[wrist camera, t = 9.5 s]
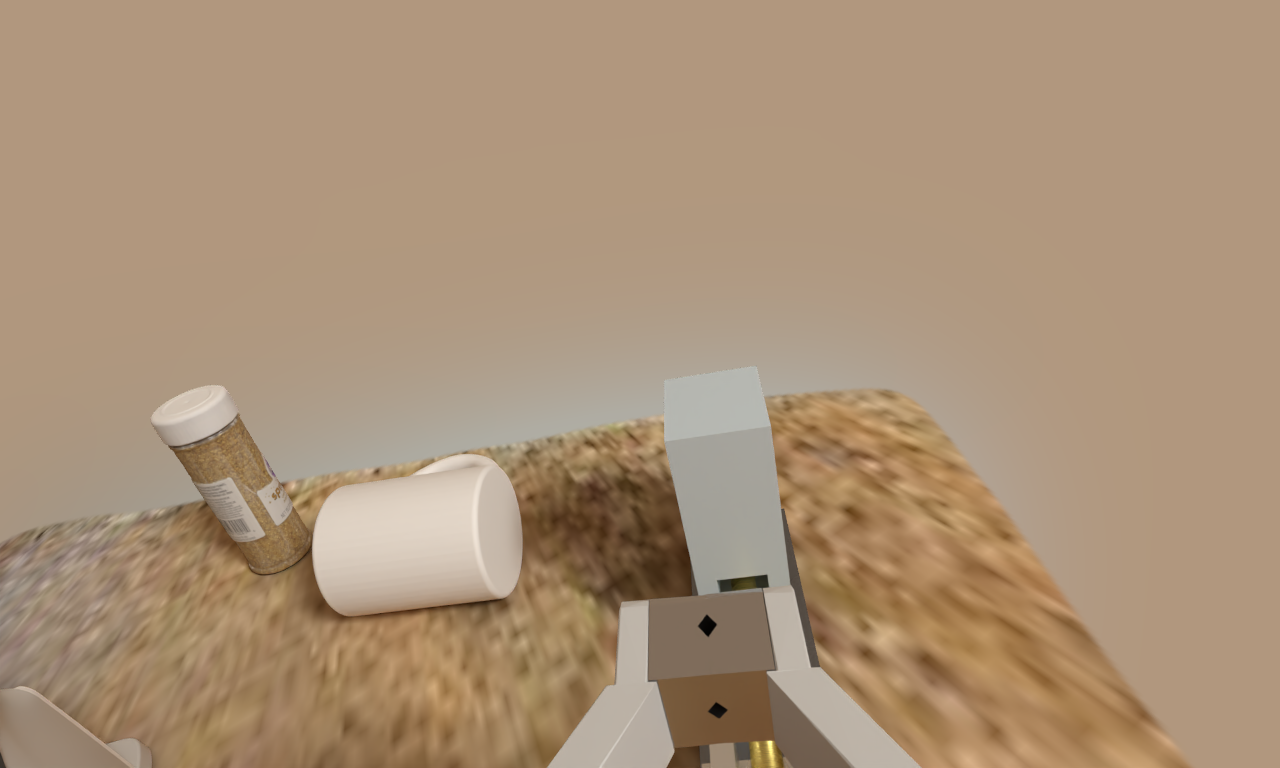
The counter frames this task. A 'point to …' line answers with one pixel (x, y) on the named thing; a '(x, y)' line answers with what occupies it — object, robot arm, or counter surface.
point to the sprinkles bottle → (233, 477)
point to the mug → (420, 539)
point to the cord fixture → (763, 760)
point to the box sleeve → (725, 478)
